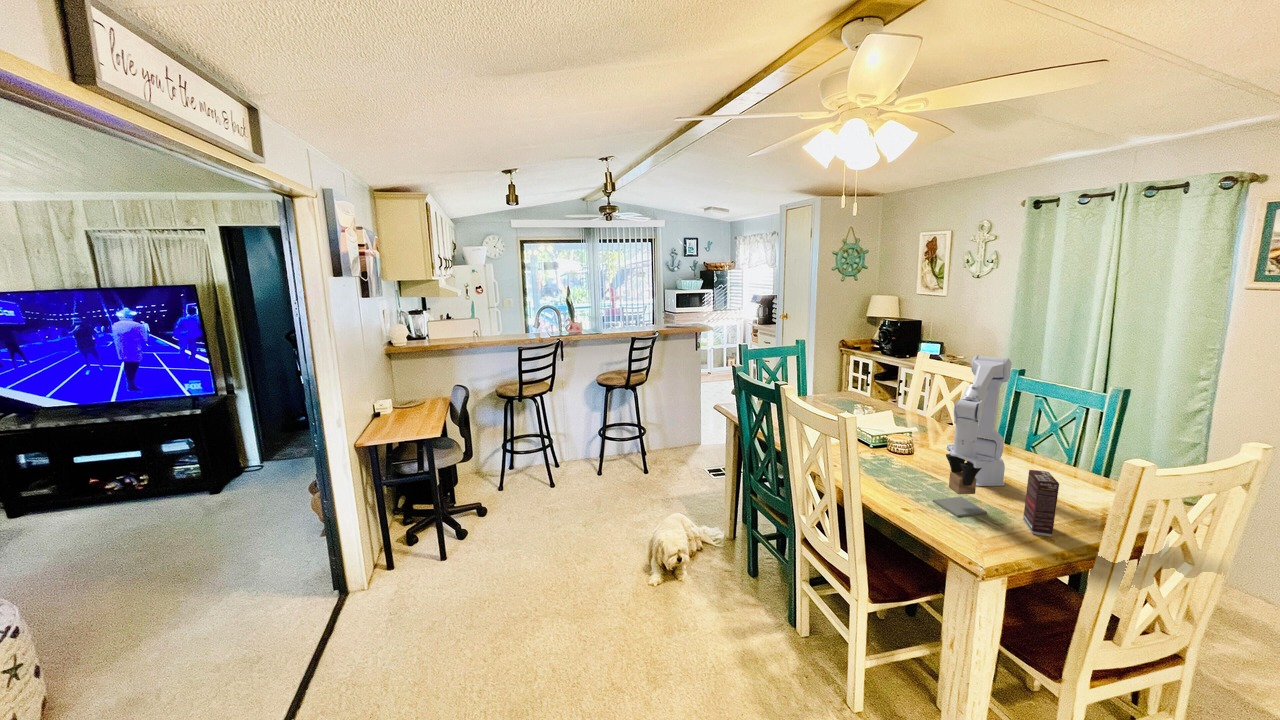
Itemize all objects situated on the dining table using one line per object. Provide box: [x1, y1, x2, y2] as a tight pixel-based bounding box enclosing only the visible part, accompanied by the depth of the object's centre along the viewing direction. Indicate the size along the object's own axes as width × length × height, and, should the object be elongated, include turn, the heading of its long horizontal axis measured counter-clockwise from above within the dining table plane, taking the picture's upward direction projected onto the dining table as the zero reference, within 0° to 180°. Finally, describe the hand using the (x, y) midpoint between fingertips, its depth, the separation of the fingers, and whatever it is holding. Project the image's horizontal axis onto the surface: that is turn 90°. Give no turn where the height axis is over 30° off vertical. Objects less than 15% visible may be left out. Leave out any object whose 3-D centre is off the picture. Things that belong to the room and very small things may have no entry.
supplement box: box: [1022, 469, 1060, 538], centre depth 138 cm, size 9×5×16 cm, turn 157°
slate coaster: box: [932, 496, 988, 518], centre depth 153 cm, size 10×10×1 cm
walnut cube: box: [948, 471, 977, 495], centre depth 152 cm, size 5×5×5 cm
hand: (961, 481), depth 152 cm, fingers closed on walnut cube, 5 cm apart
